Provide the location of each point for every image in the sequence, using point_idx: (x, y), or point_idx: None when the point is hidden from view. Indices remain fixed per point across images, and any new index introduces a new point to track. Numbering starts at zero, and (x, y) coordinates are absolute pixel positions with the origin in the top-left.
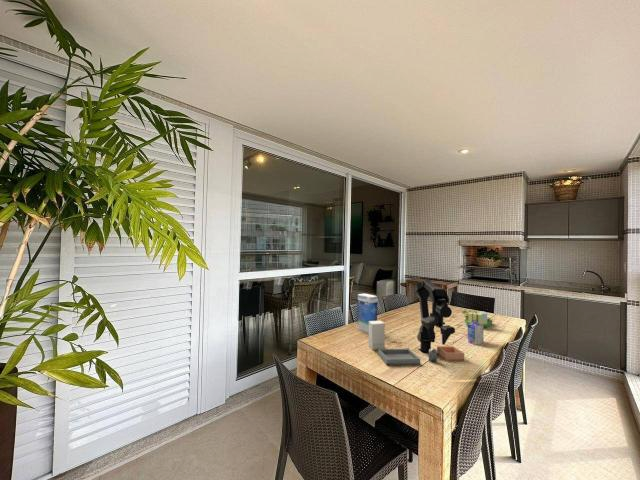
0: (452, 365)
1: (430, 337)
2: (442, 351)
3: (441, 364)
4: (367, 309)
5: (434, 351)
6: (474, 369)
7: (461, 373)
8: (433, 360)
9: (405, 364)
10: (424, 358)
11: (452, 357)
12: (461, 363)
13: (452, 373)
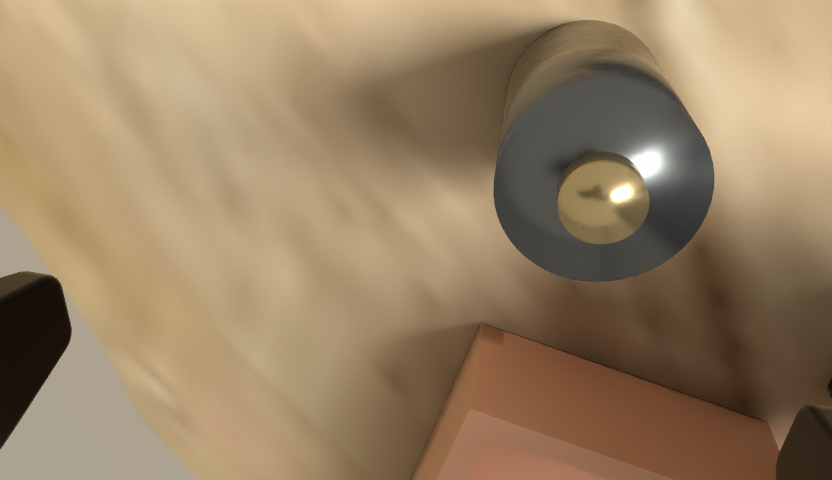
0: (317, 259)
1: (815, 439)
2: (614, 441)
3: (403, 131)
4: None
5: (504, 150)
6: (149, 394)
7: (59, 149)
8: (520, 64)
9: None
10: (766, 39)
11: (442, 427)
12: (334, 412)
13: (69, 12)
